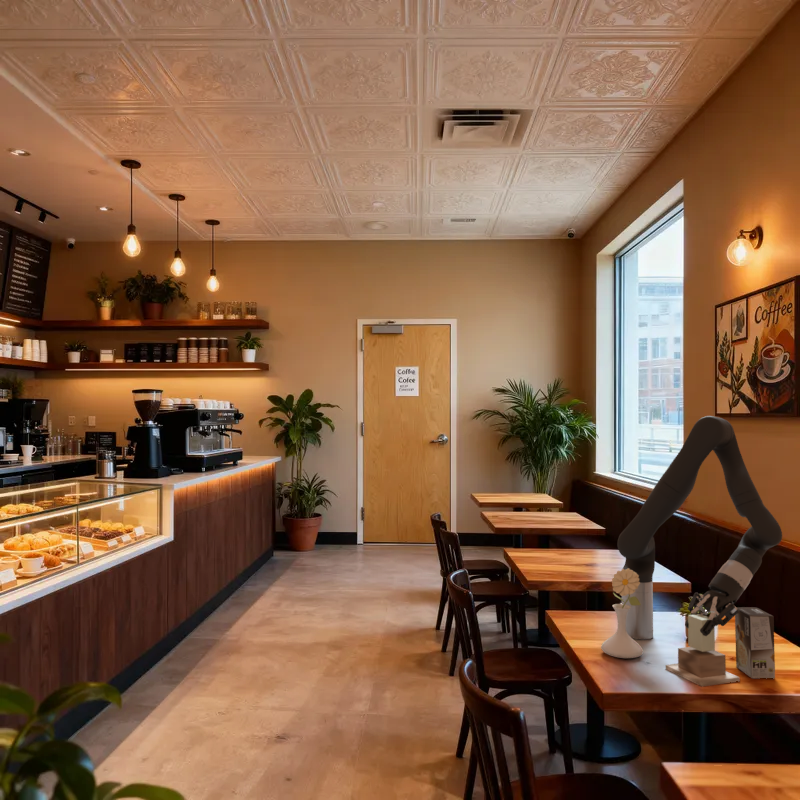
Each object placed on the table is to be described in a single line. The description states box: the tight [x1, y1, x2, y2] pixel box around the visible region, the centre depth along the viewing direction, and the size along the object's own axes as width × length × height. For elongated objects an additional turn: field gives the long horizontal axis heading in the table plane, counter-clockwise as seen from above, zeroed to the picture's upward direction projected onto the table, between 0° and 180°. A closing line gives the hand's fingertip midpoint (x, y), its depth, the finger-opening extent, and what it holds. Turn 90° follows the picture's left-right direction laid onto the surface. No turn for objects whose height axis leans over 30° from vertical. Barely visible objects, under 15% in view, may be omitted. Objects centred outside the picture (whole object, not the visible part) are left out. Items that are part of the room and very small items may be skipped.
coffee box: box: [734, 606, 776, 680], centre depth 175 cm, size 9×6×16 cm
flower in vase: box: [600, 568, 644, 659], centre depth 188 cm, size 13×11×25 cm
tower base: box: [665, 646, 741, 687], centre depth 173 cm, size 13×12×6 cm
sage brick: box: [687, 614, 716, 652], centre depth 174 cm, size 5×4×8 cm
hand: (695, 630), depth 173 cm, fingers closed on sage brick, 4 cm apart
